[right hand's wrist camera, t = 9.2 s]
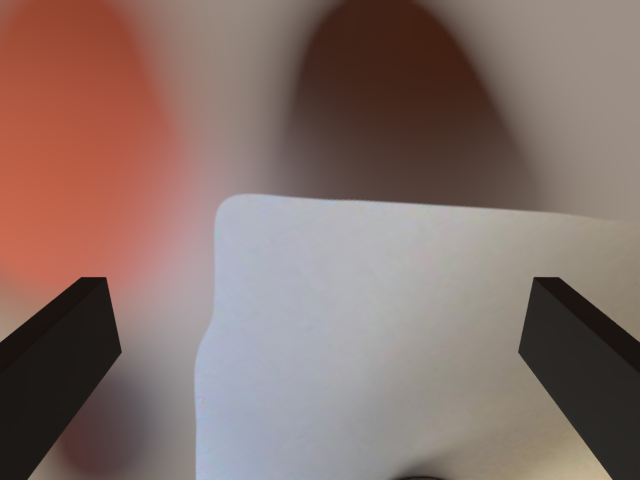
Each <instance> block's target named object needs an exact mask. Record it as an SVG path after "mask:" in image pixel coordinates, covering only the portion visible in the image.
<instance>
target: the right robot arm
mask: <svg viewBox="0 0 640 480" xmlns="http://www.w3.org/2000/svg"><path fill="white" fill-rule="evenodd" d="M121 353H122V351H121V346H120V341H119V337H118V332H117V327H116V322H115V317H114V312H113V308H112V303H111V298H110V293H109V289H108V284H107V279H106V277H81V278H80V279H78V280H77V281H76V282H75V283H73V284H72V285H71V286H70V287H68V288H67V289H66V290H65V291H64V292H62V293H61V294H60V295H59V296H57V297H56V298H55V299H54V300H52V301H51V302H50V303H49V304H47V305H46V306H45V307H44V308H42V309H41V310H40V311H39V312H37V313H36V314H35V315H34V316H32V317H31V318H30V319H29V320H27V321H26V322H25V323H24V324H23V325H21V326H20V327H19V328H18V329H16V330H15V331H14V332H13V333H11V334H10V335H9V336H8V337H6V338H5V339H4V340H3V341H1V342H0V480H28V478H29V477H30V475H31V474H32V473H33V471H34V470H35V469H36V467H37V466H38V465H39V463H40V462H41V461H42V459H43V458H44V457H45V455H46V454H47V452H48V451H49V450H50V448H51V447H52V446H53V444H54V443H55V442H56V440H57V439H58V438H59V436H60V435H61V434H62V432H63V431H64V430H65V428H66V427H67V425H68V424H69V423H70V422H71V420H72V419H73V417H74V416H75V415H76V413H77V412H78V411H79V409H80V408H81V407H82V405H83V404H84V403H85V401H86V400H87V399H88V397H89V396H90V395H91V393H92V392H93V390H94V389H95V388H96V386H97V385H98V384H99V382H100V381H101V380H102V378H103V377H104V376H105V374H106V373H107V371H108V370H109V369H110V368H111V366H112V365H113V363H114V362H115V361H116V359H117V358H118V357H119V355H120V354H121ZM518 353H519V354H520V355H521V357H522V358H523V359H524V361H525V362H526V364H527V365H528V366H529V368H530V369H531V370H532V372H533V373H534V374H535V376H536V377H537V378H538V380H539V381H540V382H541V384H542V385H543V386H544V388H545V389H546V390H547V392H548V393H549V395H550V396H551V397H552V399H553V400H554V401H555V403H556V404H557V405H558V407H559V408H560V409H561V411H562V412H563V413H564V415H565V416H566V417H567V419H568V420H569V422H570V423H571V424H572V426H573V427H574V428H575V430H576V431H577V432H578V434H579V435H580V436H581V438H582V439H583V440H584V442H585V443H586V444H587V446H588V447H589V448H590V450H591V451H592V453H593V454H594V455H595V457H596V458H597V459H598V461H599V462H600V463H601V465H602V466H603V467H604V469H605V470H606V471H607V473H608V474H609V475H610V477H611V478H612V480H640V342H639V341H637V340H636V339H635V338H634V337H632V336H631V335H630V334H629V333H627V332H626V331H625V330H624V329H622V328H621V327H620V326H619V325H617V324H616V323H615V322H614V321H613V320H611V319H610V318H609V317H608V316H606V315H605V314H604V313H603V312H601V311H600V310H599V309H598V308H596V307H595V306H594V305H593V304H591V303H590V302H589V301H588V300H586V299H585V298H584V297H583V296H581V295H580V294H579V293H578V292H576V291H575V290H574V289H573V288H572V287H570V286H569V285H568V284H567V283H565V282H564V281H563V280H562V279H560V278H559V277H534V279H533V284H532V288H531V293H530V298H529V303H528V308H527V312H526V317H525V322H524V327H523V332H522V336H521V341H520V346H519V351H518ZM405 480H438V479H432V478H410V479H405Z"/></svg>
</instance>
